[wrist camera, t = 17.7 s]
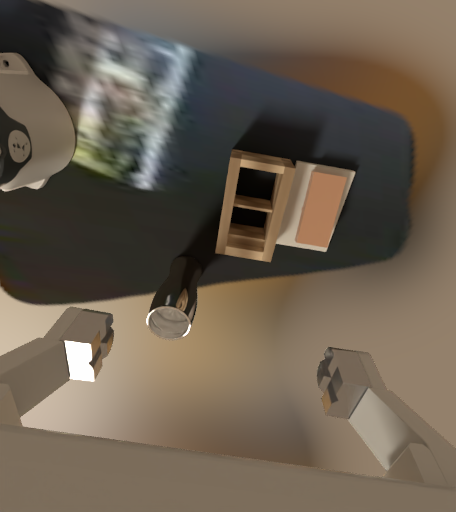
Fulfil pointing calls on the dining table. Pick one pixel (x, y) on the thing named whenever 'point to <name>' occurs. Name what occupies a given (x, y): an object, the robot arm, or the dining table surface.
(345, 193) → the mat
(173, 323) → the beer glass
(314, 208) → the tile
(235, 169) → the pocket block
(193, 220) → the dining table surface
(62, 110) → the robot arm
